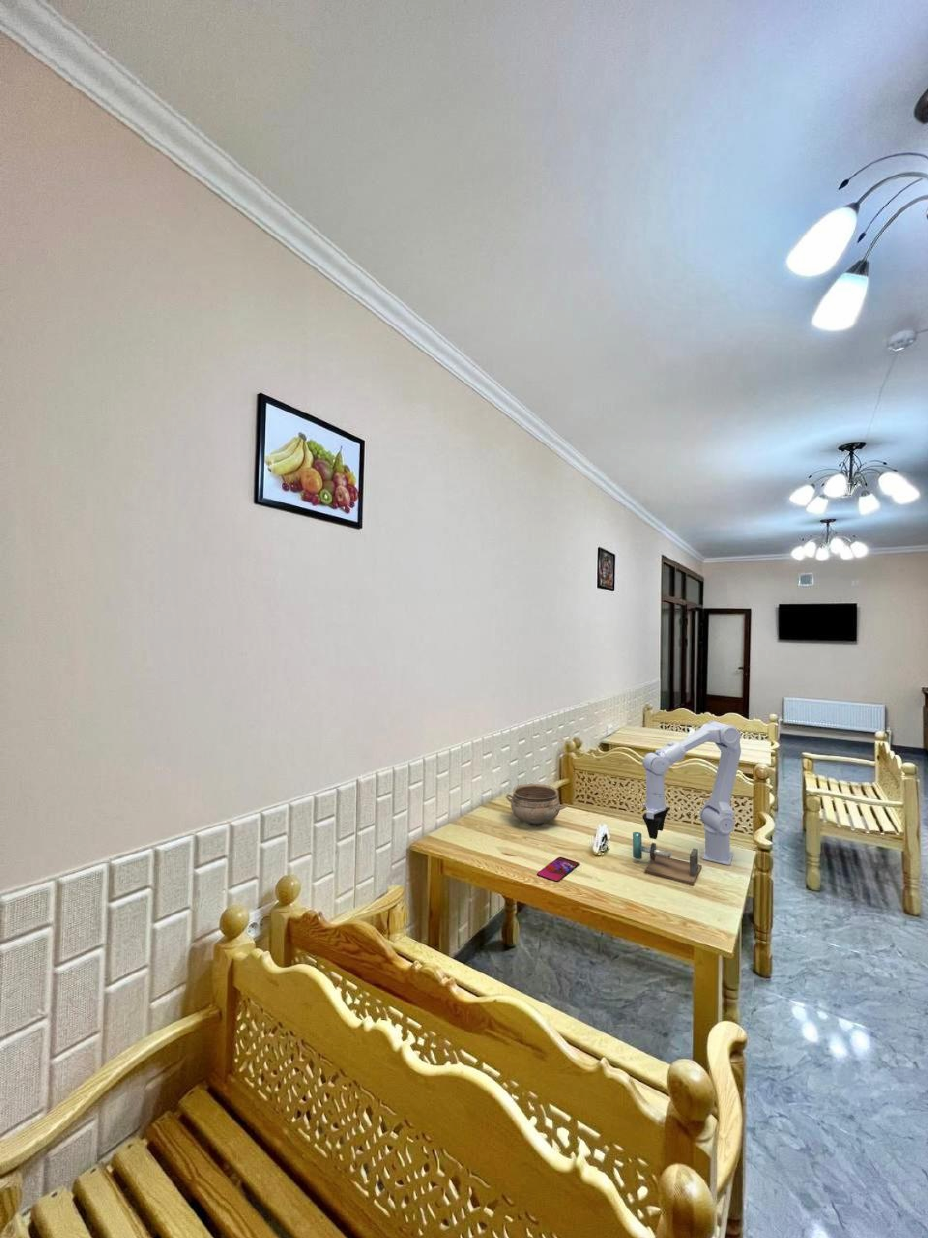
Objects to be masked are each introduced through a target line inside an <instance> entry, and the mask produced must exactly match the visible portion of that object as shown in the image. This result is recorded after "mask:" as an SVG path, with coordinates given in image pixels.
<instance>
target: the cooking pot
mask: <svg viewBox="0 0 928 1238" xmlns="http://www.w3.org/2000/svg"><path fill="white" fill-rule="evenodd" d="M512 792H513V794H510V793H509V794H506V796H505V798H506V800H507V801H508V802H509V803H510V807H511V810H512V812H513V814H514V815H515V816H516V817H517V819H519V820H520V821H522V822H525V823H526V824H527V825H529V826H533V827H534V826H535V827H538V826H539V827H541V826H543V825H545V824H548V823H549V822H551V821H554V819H555V818H557V817H558V815H559V814H560V812H561V810H564V809H566V808H567V807H568V806H567V804H560V803H561V802H560V800H559V796H558V795H559V790H558V789H556V788H555V787H552V786H550V785H547V784H546V785H545V784H540V783H539V784H538V783H527V784H521V785H517V786H516V787H514V788H512Z"/></svg>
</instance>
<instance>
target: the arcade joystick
mask: <svg viewBox="0 0 928 1238" xmlns="http://www.w3.org/2000/svg"><path fill="white" fill-rule="evenodd" d="M642 853H647V854H649V858H650V861H651V860H655V858H656V855H659V856H663V857H667V858H671V852H669V851H664V850H660V849H657V843H655V842H652V843H651V844H650V847H647V846H644V845H642V833H641V832H638V831H634V832H632V857H633V858H634V859H637V860H639V859H642V857H643V856H642V855H643V854H642Z"/></svg>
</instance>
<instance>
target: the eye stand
mask: <svg viewBox="0 0 928 1238" xmlns="http://www.w3.org/2000/svg"><path fill="white" fill-rule="evenodd" d="M698 854H699V853H698V849H697V848H694V847H693V849H692V850H691V853H690V854H689V861H688V860H687V861H686V860H681V859H678V858H674V857H670V858H667V857H663V856H659V855H656V858H655V860H651V859H650V861H649V862H648V863H647V865H646V867H645V869H644V874H647V875H650V876H652V877H653V876H654V877H658V878H661V879H664V880H669V881H673V882H677V883H680V884H683V885H688V886H692V887H694V886H695V883H696V882H697V879H698V878H699V874H700V872H701V871H702V864H699V863H698V862H699V858H698V857H699V855H698Z"/></svg>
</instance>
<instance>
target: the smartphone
mask: <svg viewBox="0 0 928 1238" xmlns="http://www.w3.org/2000/svg"><path fill="white" fill-rule="evenodd" d="M579 866H580V862H579V861H576V860H573V859H569V858H567V857H563V856H558V857H557V858H555V859H553V860H552V861H551V862H550V863H548V864H547V865H546V866H545V867H543V868H542V869H541V870H539V871H538V872H537V873H536V876H538V877H539V878H543V879H545V880H548V881H551V882H554V883H560V882H561V881H562V880H564V878H566V877H567V876H568V875H570V874H571V873H572V872H573V871H574V870H576V869H577V868H578V867H579Z"/></svg>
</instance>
